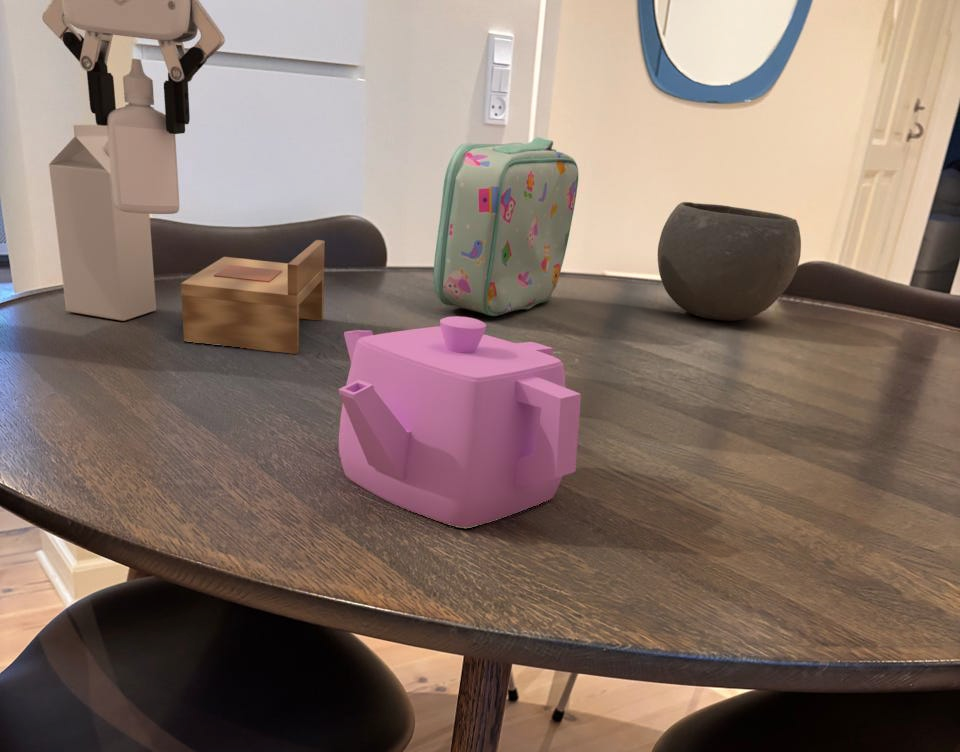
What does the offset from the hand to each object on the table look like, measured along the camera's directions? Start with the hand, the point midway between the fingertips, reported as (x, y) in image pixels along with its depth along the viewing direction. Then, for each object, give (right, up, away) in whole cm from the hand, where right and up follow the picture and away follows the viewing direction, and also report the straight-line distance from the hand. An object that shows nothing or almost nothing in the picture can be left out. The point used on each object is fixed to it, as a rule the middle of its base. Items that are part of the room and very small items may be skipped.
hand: (141, 126), depth 83 cm
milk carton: (-12, -8, +25) cm, 29 cm away
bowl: (+66, +4, +60) cm, 89 cm away
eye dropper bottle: (-1, -6, +4) cm, 7 cm away
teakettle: (+27, -34, -11) cm, 45 cm away
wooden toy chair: (+5, -10, +25) cm, 27 cm away
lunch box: (+33, +2, +51) cm, 60 cm away
